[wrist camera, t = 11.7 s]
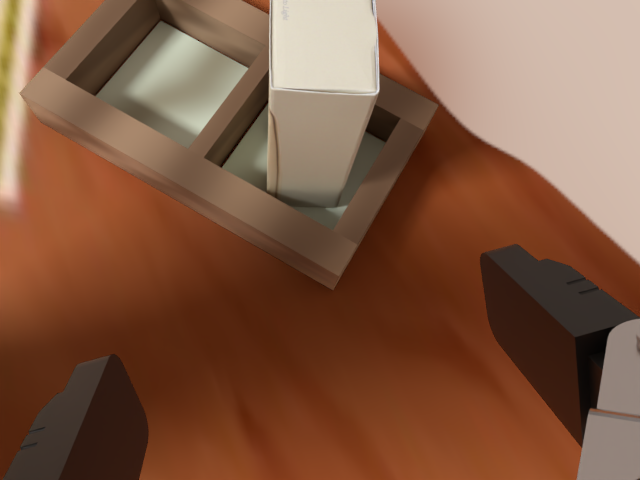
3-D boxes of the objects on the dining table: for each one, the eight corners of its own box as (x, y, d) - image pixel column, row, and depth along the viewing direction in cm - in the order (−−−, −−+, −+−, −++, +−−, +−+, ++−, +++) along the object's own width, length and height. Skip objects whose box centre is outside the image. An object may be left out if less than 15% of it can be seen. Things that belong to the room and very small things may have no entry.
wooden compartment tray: (40, 122, 33) (19, 93, 30) (159, -12, 37) (150, -49, 34) (333, 290, 31) (339, 276, 28) (425, 131, 35) (438, 104, 32)
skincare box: (268, 115, 34) (267, -44, 23) (340, 118, 34) (375, -38, 23) (266, 210, 32) (264, 88, 21) (342, 212, 32) (382, 93, 21)
